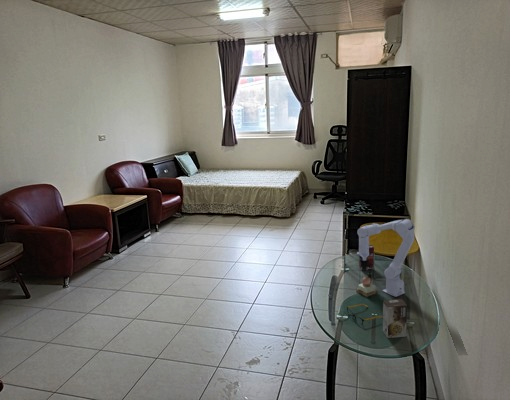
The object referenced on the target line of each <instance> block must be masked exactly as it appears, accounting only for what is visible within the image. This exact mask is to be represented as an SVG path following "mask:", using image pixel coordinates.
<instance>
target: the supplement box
mask: <svg viewBox="0 0 510 400" xmlns="http://www.w3.org/2000/svg"><path fill="white" fill-rule="evenodd" d="M358 258H360V256H359V257H358ZM367 259H369V262H368V264H367V268H366V270H365V271H369V270H368V269H373V270H374V269H375V267H374V263H375V262H374V259H375V247H374V245H373V244H369V255H368V257H367ZM358 260H359V259H358ZM358 263H359V264H358V268H359V267H360V268H359V269H360V271H363V270H362V266H361V262H360V260H359V261H358Z"/></svg>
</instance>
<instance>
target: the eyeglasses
mask: <svg viewBox="0 0 510 400" xmlns="http://www.w3.org/2000/svg"><path fill="white" fill-rule="evenodd" d="M362 305H363V306H365V307H366V308H367V307H368V308H369V306H368V305H366V303H365V304H364V303H361V304H356V305H350V306H346V311H347V313H349V312H350V313H351V314H352V317H353V318H354V320H355V321H357V318H358V319H360V320H361V324H364V322H366V321H370V320H373V319H377V318H381V319H383V315H381V316H380V315H379V316H374V317H369V318H364V319H363V318H362V317H360V316H359V315H356V314H355V313H354V312H352V310H351V308H353V307H354V308H355V307H359V306H362Z"/></svg>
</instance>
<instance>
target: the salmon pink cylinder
mask: <svg viewBox="0 0 510 400" xmlns="http://www.w3.org/2000/svg"><path fill="white" fill-rule="evenodd" d="M371 280H372V279H371V278H370V277H368V276H366V277H365V276H364V277H362V283H363V286H364V287H370V283H371ZM371 284H372V283H371Z"/></svg>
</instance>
